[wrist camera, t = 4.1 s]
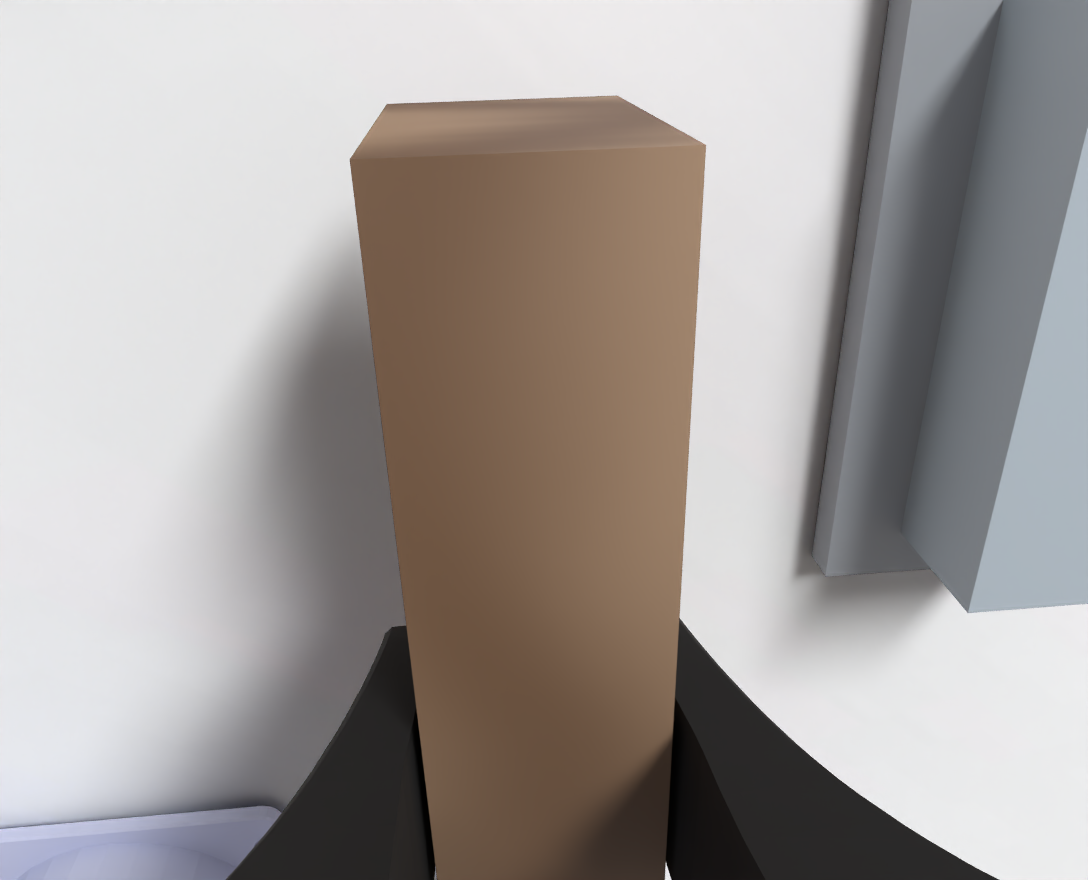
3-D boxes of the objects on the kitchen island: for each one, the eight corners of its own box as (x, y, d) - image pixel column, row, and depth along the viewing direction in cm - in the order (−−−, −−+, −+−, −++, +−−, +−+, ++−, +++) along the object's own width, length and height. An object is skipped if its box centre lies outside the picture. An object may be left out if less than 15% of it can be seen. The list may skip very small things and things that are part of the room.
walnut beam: (617, 95, 11) (705, 144, 7) (607, 895, 19) (649, 1138, 15) (387, 104, 11) (349, 159, 7) (467, 909, 18) (471, 1161, 14)
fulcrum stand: (1069, 537, 20) (1183, 637, 17) (811, 555, 19) (879, 662, 16) (1251, -76, 14) (1473, -98, 11) (899, -69, 14) (1026, -89, 11)
